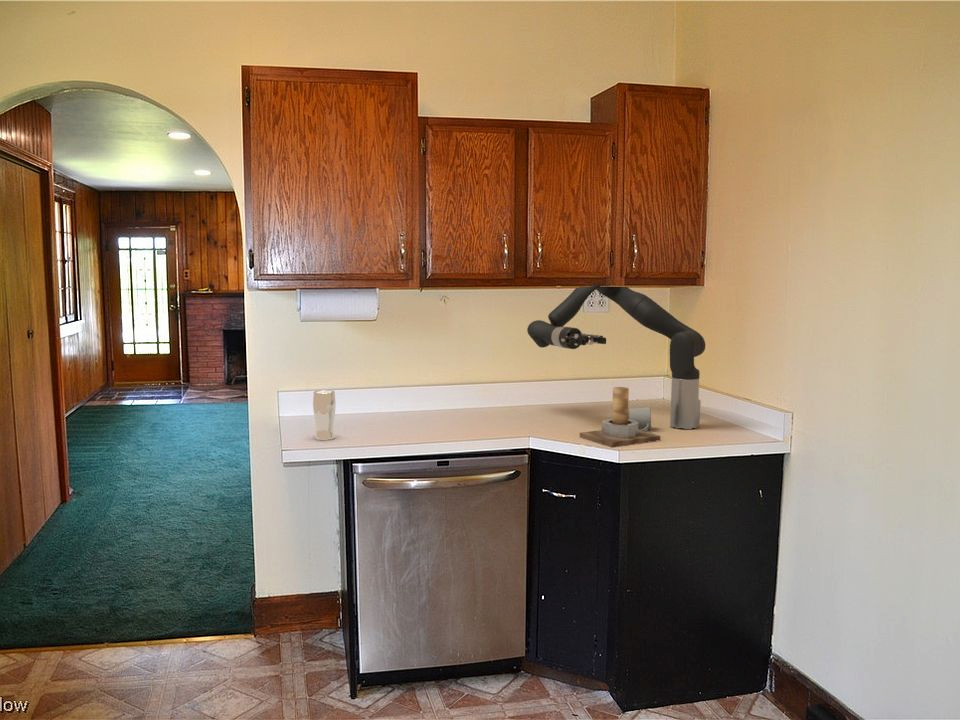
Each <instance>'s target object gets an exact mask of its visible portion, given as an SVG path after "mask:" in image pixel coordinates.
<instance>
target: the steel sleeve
mask: <svg viewBox="0 0 960 720" xmlns="http://www.w3.org/2000/svg"><path fill="white" fill-rule="evenodd" d="M638 424H639V423H638V422H637V421H634V420H629V419H628V424H613V423H612V418H606V419H603V420H601V430H602V434H603V435H604V436H608V437H614V438H632V437H636V436H638Z"/></svg>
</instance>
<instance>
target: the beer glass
mask: <svg viewBox="0 0 960 720" xmlns="http://www.w3.org/2000/svg"><path fill="white" fill-rule="evenodd" d="M312 400H313V401H312V408H313V414H314V415H313V416H314V420H315V426H316V427H315V429H316V430H315V436H314V439H315V440H317V441H331V440H334V439H335V437H336V436H335V432H334V431H335V430H334V422H335V415H336V392H335V390H328V389H327V390H315V391H313V399H312Z"/></svg>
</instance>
